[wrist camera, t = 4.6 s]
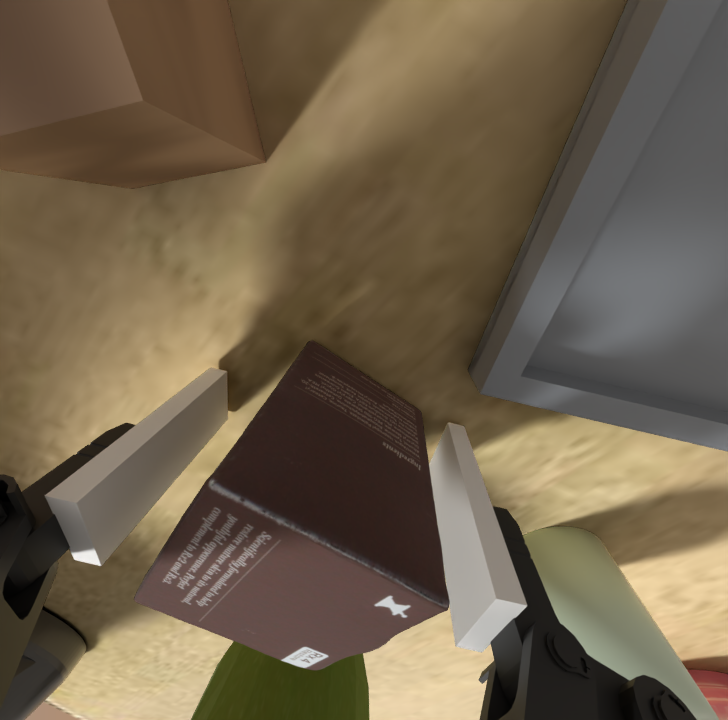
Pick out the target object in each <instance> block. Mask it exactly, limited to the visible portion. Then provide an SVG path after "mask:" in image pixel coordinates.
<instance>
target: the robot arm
mask: <svg viewBox="0 0 728 720" xmlns="http://www.w3.org/2000/svg"><path fill="white" fill-rule="evenodd" d="M227 419H228V388H227V371H224V370H220V369H215V368H209V369H208V370H207V371H205V372H204V373H203V374H201V375H200V376H199V377H198V378H196V379H195V380H194V381H192V382H191V383H190V384H189V385H187V386H186V387H185V388H183V389H182V390H181V391H179V392H178V393H177V394H176V395H174V396H173V397H172V398H170V399H169V400H168V401H167V402H165V403H164V404H163V405H161V406H160V407H159V408H157V409H156V410H155V411H154V412H152V413H151V414H150V415H148V416H147V417H146V418H145V419H143V420H142V421H141V422H139V423H138V424H137V425H133V424H129V423H124V424H122V425H120V426H118V427H115V428H113V429H111V430H108V431H106V432H105V433H104V434H102V435H101V436H99V437H98V438H97V439H95V440H94V441H92V442H91V444H90V445H87V446H85V447H84V448H83V449H81V450H80V451H78V452H77V454H76V455H73V456H71V457H70V458H69V459H67V460H66V461H64V462H63V463H62V464H60V465H59V466H57V467H56V468H55V469H53V470H52V471H50V472H49V473H48V474H46V475H45V476H43V477H42V478H41V479H39V480H38V481H36V482H35V483H34V484H32V485H31V486H29V487H28V488H27V489H25V490H24V491H22V492H21V490H20V488H19V486H18V484H17V483H16V481H15V479H14V478H13V477H10V476H7V475H0V720H25V719H26V718H27V717H28V716H29V715H30V714H31V713H32V712H33V711H34V710H36V709H37V708H38V707H39V706H40V705H41V704H42V703H43V702H44V701H45V700H46V699H47V698H48V697H49V696H50V695H51V694H52V693H53V692H54V691H55V690H56V689H57V688H58V687H59V686H60V685H61V684H62V683H63V682H64V681H65V679H66V678H67V677H68V676H69V674H70V673H71V671H72V670H73V669H74V667H75V666H76V665H77V663H78V662H79V660H80V659H81V658H82V656H83V655H84V654H85V652H86V645H85V643H84V641H83V639H82V638H81V637H80V636H79V635H78V634H77V633H76V632H75V631H74V630H73V629H72V628H71V627H69V626H68V625H67V624H65V623H64V622H62V621H61V620H59V619H58V618H56V617H54V616H53V615H51V614H49V613H47V612H45V611H44V610H42V607H43V605H44V602H45V600H46V598H47V595H48V593H49V590H50V588H51V585H52V583H53V581H54V578H55V576H56V573H57V569H58V562H57V560H58V559H59V558H60V557H61V556H62V555H63V554H64V553H65V552H66V551H67V550H68V549H70V551H71V553H72V555H73V558H74V560H77V561H81V562H85V563H90V564H94V565H99V566H102V565H103V564H104V563H105V561H106V560H107V559H108V558H109V557H110V556H111V554H112V553H113V552H114V551H115V550H116V549H117V547H118V546H119V545H120V544H121V543H122V542H123V540H124V539H125V538H126V537H127V536H128V535H129V533H130V532H131V531H132V530H133V529H134V528H135V526H136V525H137V524H138V523H139V522H140V521H141V519H142V518H143V517H144V516H145V515H146V514H147V513H148V511H149V510H150V509H151V508H152V507H153V506H154V504H155V503H156V502H157V501H158V500H159V499H160V497H161V496H162V495H163V494H164V493H165V492H166V490H167V489H168V488H169V487H170V486H171V485H172V483H173V482H174V481H175V480H176V479H177V478H178V476H179V475H180V474H181V473H182V472H183V471H184V469H185V468H186V467H187V466H188V465H189V464H190V462H191V461H192V460H193V459H194V458H195V457H196V455H197V454H198V453H199V452H200V451H201V450H202V448H203V447H204V446H205V445H206V444H207V443H208V441H209V440H210V439H211V438H212V437H213V436H214V434H215V433H216V432H217V431H218V430H219V429H220V427H221V426H222V425H223V424H224V423H225V422H226V421H227ZM429 467H430V476H431V483H432V489H433V496H434V503H435V510H436V516H437V523H438V530H439V535H440V540H441V546H442V554H443V564H444V571H445V578H446V584H447V591H448V595H449V600H450V603H449V605H450V611H451V618H452V625H453V632H454V639H455V645H456V647H460V648H465V649H469V650H473V651H478V652H483V651H484V650H485V649H486V648H487V647H488V646H489V645H490V644H491V647H492V651H493V656H494V661H493V662H492V663H491V664H490V665H489V666H488V667H487V668H486V669H485V670H484V671H483V672H482V673H481V676H480V678H479V681H480V682H481V683H482V684H483V683H484V682H485V681H486V680H487V679H488V680H487V685H486V690H485V695H484V701H483V706H482V711H481V716H480V720H697V719H696V718H695V717H694V715H693V714H692V713H691V711H690V710H689V709H688V707H687V706H686V705H685V704H684V702H683V701H682V700H680V699H679V698H678V697H677V696H676V695H675V694H674V693H673V692H672V691H671V690H670V689H669V688H668V687H667V686H665V685H664V684H662V683H661V682H659V681H658V680H657V679H655V678H652V677H649V676H646V675H641V676H638V677H635V678H634V679H632V680H628V679H626V678H625V677H623V676H621V675H620V674H618V673H616V672H615V671H613V670H612V669H610V668H608V667H607V666H605V665H603V664H602V663H600V662H598V661H597V660H595V659H594V658H592V657H591V656H589V655H588V654H587V653H586V651H585V649H584V648H583V647H582V645H581V644H580V642H579V641H578V640H577V638H576V637H575V636H574V635H573V634H572V633H571V632H570V631H569V630H568V629H567V628H566V627H565V626H564V625H562V624H560V622H559V620H558V618H557V616H556V614H555V612H554V610H553V607H552V605H551V602H550V600H549V598H548V595H547V593H546V590H545V588H544V586H543V583H542V581H541V578H540V576H539V574H538V571H537V569H536V566H535V564H534V562H533V559H531V557H530V556H531V554H530V552H529V550H528V547H527V545H526V544H525V540H524V538H523V535H522V533H521V530H520V528H519V526H518V524H517V523H516V521H515V520H514V519H513V517H512V516H511V515H510V513H509V512H508V511H507V509H502V508H498V507H494V506H492V504H491V501H490V498H489V495H488V492H487V489H486V487H485V484H484V481H483V478H482V475H481V472H480V470H479V467H478V464H477V461H476V458H475V455H474V453H473V450H472V447H471V444H470V441H469V438H468V436H467V433H466V430H465V427H464V426H462V425H457V424H453V423H449V422H448V423H447V425H446V427H445V430H444V432H443V434H442V436H441V439H440V441H439V443H438V446H437V448H436V450H435V452H434V455H433V457H432V459H431V461H430V464H429Z"/></svg>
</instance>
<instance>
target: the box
mask: <svg viewBox="0 0 728 720" xmlns="http://www.w3.org/2000/svg"><path fill="white" fill-rule="evenodd" d="M134 600H135V602H137V603H139V604H142V605H144V606H147V607H150V608H152V609H154V610H156V611H160V612H162V613H165V614H167V615H169V616H172V617H174V618H177V619H179V620H182V621H184V622H187V623H189V624H192V625H195V626H197V627H200V628H202V629H205V630H208V631H210V632H213V633H215V634H218V635H220V636H223V637H225V638H228V639H231V640H233V641H236V642H238V643H241V644H243V645H245V646H248V647H250V648H252V649H255V650H257V651H260V652H262V653H264V654H267V655H270V656H272V657H274V658H277V659H279V660H281V661H284V662H287V663H290V664H293V665H295V666H298V667H302V668H306V669H310V670H321V669H323V668H325V667H327V666H329V665H330V664H332V663H335V662H337V661H339V660H341V659H344V658H346V657H349V656H353V655H356V654H362V653H366V652H370V651H373V650H375V649H377V648H380V647H381V646H382V645H384V644H386V643H387V642H388V641H389V640H390V639H391V638H392V637H394V636H395V635H397V634H398V633H400V632H402V631H404V630H407V629H409V628H410V627H412V626H415V625H417V624H419V623H421V622H423V621H424V620H427V619H429V618H431V617H433V616H435V615H437V614H439V613H442V612H444V611H447V610H448V608H449V603H450V600H449V595H448V591H447V587H446V582H445V575H444V564H443V554H442V546H441V540H440V535H439V530H438V525H437V517H436V511H435V503H434V498H433V489H432V483H431V476H430V467H429V462H428V454H427V448H426V441H425V434H424V427H423V420H422V413H421V411H420V410H419V409H417V408H415V407H414V406H412V405H410V404H409V403H408V402H406V401H404V400H403V399H401V398H400V397H399V396H397V395H395V394H394V393H392V392H391V391H389V390H388V389H386V388H384V387H383V386H381V385H380V384H379V383H377V382H375V381H374V380H372V379H371V378H369V377H368V376H366V375H365V374H363V373H362V372H360V371H359V370H357V369H355V368H354V367H352V366H351V365H349V364H348V363H346V362H345V361H343V360H342V359H340V358H339V357H337V356H336V355H334V354H333V353H331V352H330V351H328V350H327V349H325V348H324V347H322V346H320V345H319V344H317V343H316V342H314V341H312V340H311V341H309V342H308V343H307V344H306V346H305V347H304V349H303V350H302V351H301V353H300V354H299V355H298V357H297V358H296V360H295V361H294V362H293V364H292V365H291V366H290V368H289V369H288V371H287V372H286V374H285V375H284V376H283V378H282V379H281V381H280V382H279V384H278V385H277V386H276V388H275V389H274V391H273V392H272V393H271V395H270V396H269V398H268V399H267V401H266V402H265V403H264V405H263V406H262V407H261V408H260V410H259V411H258V413H257V414H256V415H255V417H254V418H253V420H252V421H251V422H250V423H249V425H248V426H247V428H246V429H245V431H244V432H243V434H242V435H241V437H240V438H239V439H238V441H237V442H236V444H235V445H234V446H233V448H232V449H231V450H230V452H229V453H228V454H227V455H226V457H225V458H224V459H223V461H222V462H221V463H220V464H219V466H218V467H217V468H216V470H215V471H214V473H213V474H212V475H211V476H210V477H209V478H208V479H207V480H206V482H205V483H204V485H203V486H202V488H201V489H200V491H199V493H198V494H197V495H196V497H195V498H194V500H193V501H192V503H191V504H190V506H189V507H188V509H187V510H186V512H185V513H184V514H183V516H182V518H181V519H180V521H179V523H178V524H177V526H176V527H175V529H174V531H173V532H172V534H171V536H170V537H169V539H168V540H167V542H166V544H165V545H164V547H163V548H162V550H161V551H160V553H159V555H158V557H157V558H156V560H155V562H154V563H153V565H152V566H151V568H150V570H149V571H148V572H147V574H146V576H145V577H144V579H143V582H142V583H141V585H140V587H139V589H138V591H137V593H136V595H135V597H134Z"/></svg>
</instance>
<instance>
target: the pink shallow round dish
mask: <svg viewBox="0 0 728 720" xmlns="http://www.w3.org/2000/svg"><path fill="white" fill-rule="evenodd" d="M687 671H688V672H689V674H690V675H691V677H692V678H693V680H694V681H695V683H696V684H697V686H698V687H699V689H700V690H701V692H702V693H703V695H704V696H705V698H706V699H707V701H708V702H709V704H710V705H711V707H712V709H713V710H714V712H715V713H716V715H717V716H718V718H719V720H728V674H726V673H721V672H715V671H707V670H687Z"/></svg>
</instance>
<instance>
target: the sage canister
mask: <svg viewBox="0 0 728 720" xmlns="http://www.w3.org/2000/svg"><path fill="white" fill-rule="evenodd" d="M523 538H524V540H525V544H526V545H527V547H528V550H529V552H530V554H531V556H530V557H531V559H533V562H534V564H535V566H536V569H537V571H538V574H539V576H540V578H541V581H542V583H543V586H544V588H545V590H546V593H547V595H548V598H549V600H550V602H551V605H552V607H553V610H554V612H555V614H556V616H557V618H558V620H559V622H560V624H562V625H564V626H565V627H566V628H567V629H568V630H569V631H570V632H571V633H572V634H573V635H574V636H575V637H576V638H577V640H578V641H579V642H580V644H581V645H582V647H583V648H584V649H585V651H586V653H587V654H588V655H589V656H591V657H592V658H594V659H595V660H597V661H598V662H600V663H602V664H603V665H605V666H607V667H608V668H610V669H612V670H613V671H615V672H616V673H618V674H620V675H621V676H623V677H625V678H626V679H628V680H632V679H634V678H635V677H638V676H641V675H646V676H649V677H652V678H655V679H657V680H658V681H659V682H661V683H662V684H664V685H665V686H667V687H668V688H669V689H670V690H671V691H672V692H673V693H674V694H675V695H676V696H677V697H678V698H679V699H680V700H682V701H683V702H684V704H685V705H686V706H687V707H688V709H689V710H690V711H691V713H692V714H693V715H694V717H695V718H696V719H697V720H719V718H718V716H717V715H716V713H715V712H714V710H713V709H712V707H711V705H710V704H709V702H708V701H707V699H706V698H705V696H704V695H703V693H702V692H701V690H700V689H699V687H698V686H697V684H696V683H695V681H694V680H693V678H692V677H691V675H690V674H689V672H688V671H687V669H686V668H685V666H684V665H683V663H682V662H681V660H680V659H679V657H678V656H677V654H676V653H675V651H674V650H673V648H672V647H671V645H670V644H669V642H668V641H667V639H666V638H665V636H664V635H663V633H662V632H661V630H660V629H659V627H658V626H657V624H656V623H655V621H654V620H653V618H652V617H651V615H650V614H649V612H648V610H647V609H646V607H645V606H644V604H643V603H642V601H641V600H640V598H639V597H638V595H637V594H636V592H635V591H634V589H633V588H632V586H631V585H630V583H629V582H628V580H627V579H626V577H625V576H624V574H623V573H622V571H621V570H620V568H619V567H618V565H617V564H616V562H615V561H614V559H613V558H612V556H611V555H610V553H609V552H608V550H607V549H606V547H605V546H604V544H603V543H602V541H601V540H600V539H599V538H598V537H597V536H596V535H595V534H593V533H591V532H589V531H587V530H584V529H580V528H575V527H567V526H557V527H547V528H543V529H539V530H535V531H533V532H530V533H528V534H526V535H524V536H523Z"/></svg>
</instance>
